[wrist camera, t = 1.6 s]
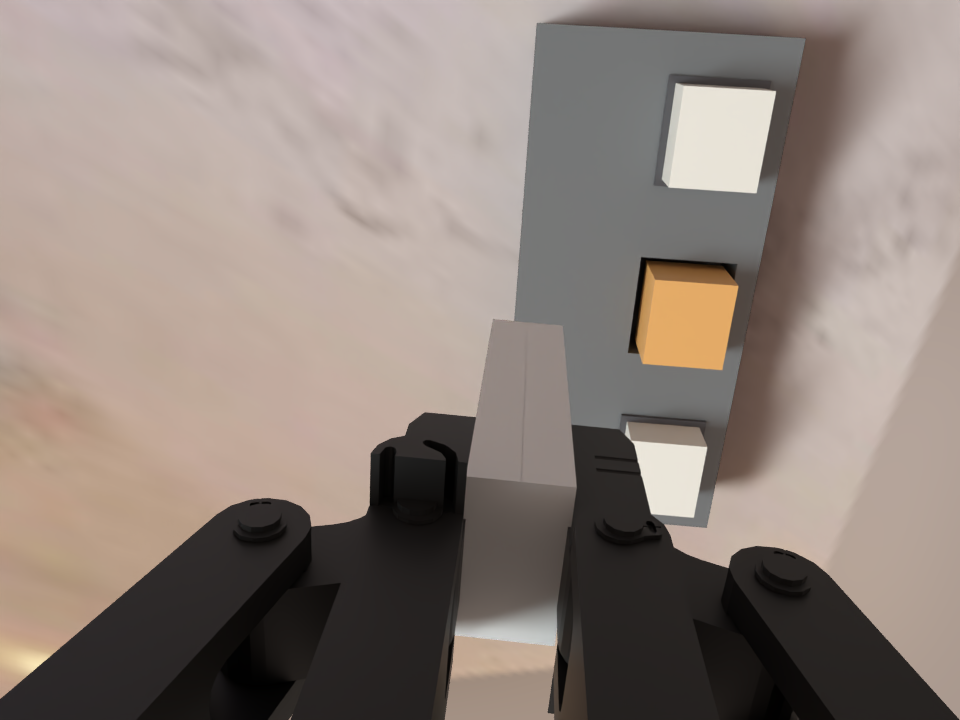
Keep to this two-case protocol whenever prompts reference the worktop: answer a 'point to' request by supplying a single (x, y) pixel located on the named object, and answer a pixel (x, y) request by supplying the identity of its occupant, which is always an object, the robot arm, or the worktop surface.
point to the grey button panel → (649, 222)
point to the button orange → (685, 314)
